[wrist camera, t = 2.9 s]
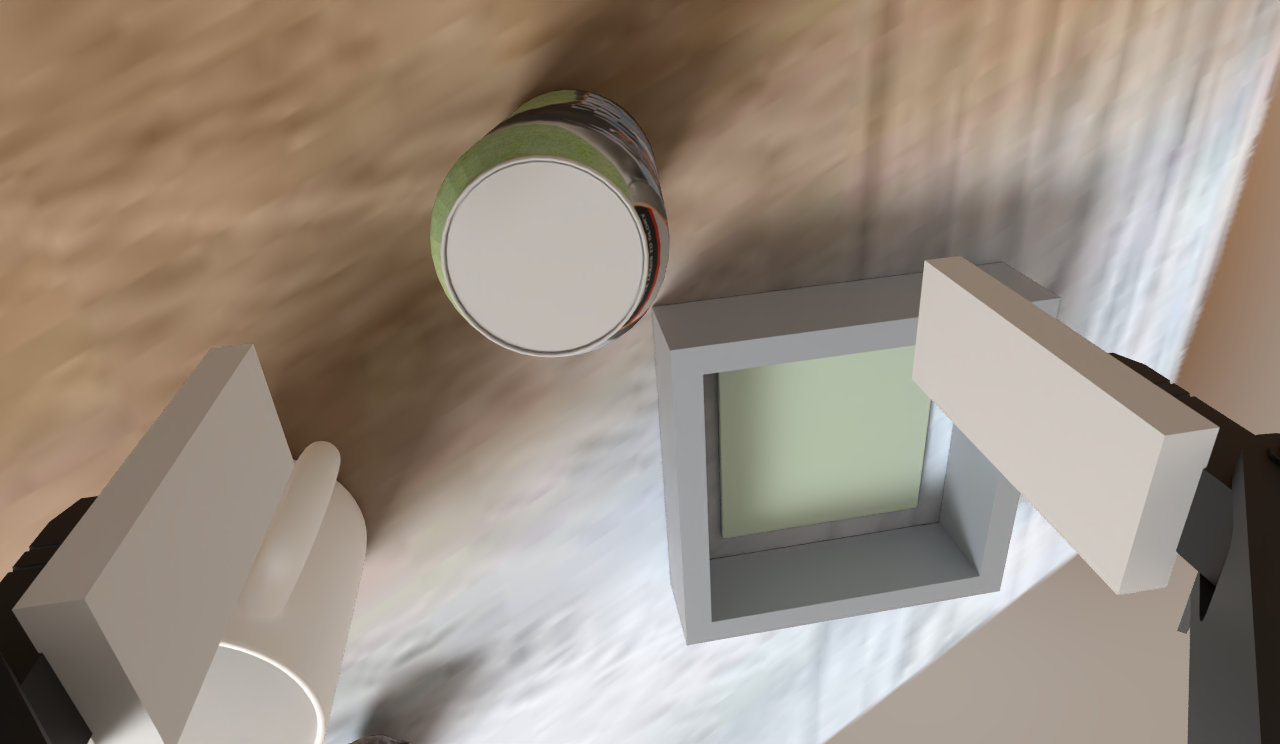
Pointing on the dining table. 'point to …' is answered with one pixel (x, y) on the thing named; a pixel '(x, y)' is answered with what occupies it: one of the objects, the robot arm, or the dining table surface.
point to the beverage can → (553, 227)
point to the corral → (818, 457)
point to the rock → (379, 740)
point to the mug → (288, 618)
